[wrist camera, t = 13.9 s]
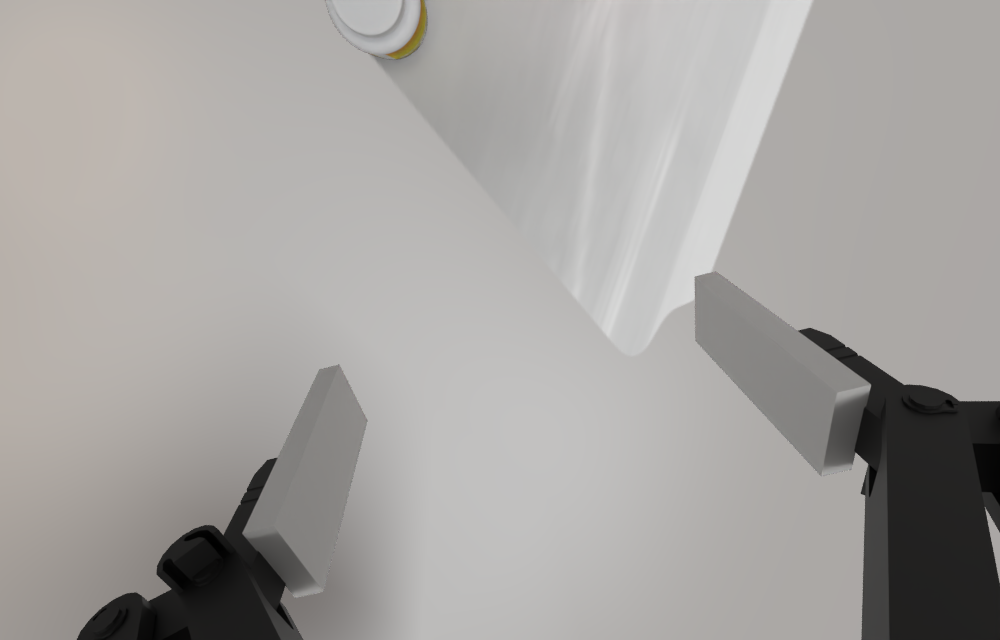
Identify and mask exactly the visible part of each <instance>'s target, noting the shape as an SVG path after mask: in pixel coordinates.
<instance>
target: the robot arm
mask: <svg viewBox="0 0 1000 640" xmlns="http://www.w3.org/2000/svg"><path fill="white" fill-rule="evenodd" d="M695 338H696V342H697V343H698V344H699V345H700V346H701V347H702V348H703V349H704V350H705V351H706V353H708V355H709V356H710V357H711V358H712V359H713V360H714V361H715V362H716V363H717V364H718V366H719V367H720V368H722V370H723V371H724V372H725V373H726V374H727V375H728V376H729V377H730V378H731V380H732V381H733V382H734V383H735V384H736V385H737V386H738V387H739V388H740V389H741V390H742V391H743V393H745V395H746V396H747V397H748V398H749V399H750V400H751V401H752V402H753V403H754V404H755V405H756V407H757V408H758V409H759V410H760V411H761V412H762V413H763V414H764V415H765V416H766V417H767V418H768V419H769V421H770V422H771V423H772V424H773V425H774V426H775V427H776V428H777V429H778V430H779V431H780V432H781V434H782V435H783V436H784V437H785V438H786V439H787V440H788V441H789V442H790V443H791V444H792V445H793V446H794V447H795V449H796V450H797V451H798V452H799V453H800V454H801V455H802V456H803V457H804V458H805V459H806V460H807V462H808V463H809V464H810V465H811V466H812V467H813V468H814V469H815V470H816V471H817V472H818V473H819V475H820V476H825V475H830V474H834V473H838V472H843V471H847V470H851V469H852V465H853V461H854V456H855V452H856V453H857V454H858V455H859V456H860V457H861V458H862V459H864V460H865V461H866V462H867V463H868V468H867V472H866V475H865V480H864V483H863V487H862V491H861V494H863V495H865V532H864V571H863V605H862V607H863V608H862V640H1000V583H999V578H998V573H997V568H996V563H995V557H994V552H993V547H992V542H991V537H990V532H989V527H988V521H987V516H986V511H985V507H986V509H987V511H988V513H989V514H990V516H991V518H992V520H993V521H994V523H995V525H996V527H997V528H998V530H999V532H1000V401H981V402H980V401H971V402H970V401H969V402H967V401H966V402H965V401H958V400H957V399H956V398H954V397H953V396H952V395H950V394H947V393H945V392H943V391H940V390H938V389H934V388H930V387H926V386H921V385H903V384H902V383H900V382H899V381H897V380H896V379H894V378H893V377H891V376H890V375H888V374H887V373H885V372H884V371H883V370H881V369H880V368H878V367H877V366H875V365H874V364H872V363H871V362H869V361H868V360H866V359H865V358H863V357H862V356H858V355H857V353H856V352H855V351H853V350H852V349H850V348H849V347H845V345H844V344H843V343H841V342H840V341H838V340H837V339H835V338H834V337H832V336H831V335H829V334H826V333H823V332H820V331H817V330H814V329H812V328H807V329H803V330H800V331H797V330H796V329H794V328H793V327H792V326H790V325H789V324H787V323H786V322H785V321H783V320H782V319H781V318H779V317H778V316H776V315H775V314H774V313H772V312H771V311H769V310H768V309H767V308H765V307H764V306H763V305H761V304H760V303H759V302H757V301H756V300H755V299H753V298H752V297H750V296H749V295H748V294H746V293H745V292H744V291H742V290H741V289H739V288H738V287H737V286H735V285H734V284H733V283H731V282H730V281H728V280H727V279H726V278H724V277H723V276H722V275H720V274H719V273H717V272H712V273H708V274H704V275H700V276H695ZM366 424H367V418H366V417H365V415H364V413H363V411H362V409H361V407H360V405H359V403H358V401H357V399H356V397H355V395H354V393H353V391H352V389H351V387H350V385H349V383H348V381H347V379H346V377H345V375H344V373H343V371H342V369H341V367H340V365H336V366H332V367H328V368H324V369H320V370H319V371H318V374H317V375H316V378H315V380H314V382H313V384H312V386H311V388H310V390H309V392H308V395H307V397H306V399H305V401H304V403H303V406H302V407H301V409H300V412H299V414H298V416H297V418H296V420H295V422H294V425H293V427H292V429H291V431H290V433H289V435H288V437H287V439H286V442H285V444H284V446H283V448H282V450H281V452H280V454H279V456H278V458H274V459H270V460H267V461H266V462H265V464H264V465H263V466H262V467H261V468H260V469H259V470H258V471H257V472H256V474H255V475H254V477H253V478H252V480H251V482H250V484H249V486H248V488H247V492H246V493H245V494H244V496H243V498H242V500H241V505H239V506H238V508H237V510H236V512H235V514H234V516H233V518H232V520H231V522H230V524H229V526H228V527H227V529H226V531H225V533H224V535H222V533H221V532H220V531H219V530H218V529H217V528H216V527H214V526H211V525H204V526H201V527H199V528H195V529H193V530H191V531H190V532H188V533H186V534H185V535H183V536H182V537H180V538H179V539H178V540H177V541H176V542H174V543H173V544H172V545H171V546H170V547H169V549H168V550H167V551H166V552H165V553H164V554H163V556H162V558H161V560H160V561H159V563H158V565H157V575H158V576H159V577H160V578H161V579H162V580H163V581H164V582H165V583H166V584H167V585H168V586H169V587H170V588H171V590H170V591H168V592H166V593H164V594H162V595H160V596H158V597H156V598H154V599H152V600H150V601H147V600H145V598H143V597H142V596H141V595H139V594H138V593H127V594H125V595H122V596H120V597H118V598H116V599H114V600H113V601H111V602H110V603H108V604H107V605H105V606H104V607H102V609H100V610H99V611H98V612H97V613H96V614H95V615H94V616H93V617H92V618H91V619H90V620H89V621H88V623H87V624H86V625H85V627H84V628H83V629H82V630H81V632H80V634H79V636H78V638H77V640H303V638H302V637H301V635H300V633H299V631H298V629H297V627H296V626H295V624H294V622H293V620H292V618H291V617H290V615H289V613H288V611H287V609H286V607H285V606H284V605H283V604H282V603H281V602H280V600H281V597H282V594H283V591H284V588H285V586H286V587H287V588H288V589H289V591H290V592H291V593H292V594H293V595H294V597H295V598H298V597H302V596H306V595H311V594H315V593H319V592H323V591H324V588H325V584H326V580H327V576H328V572H329V568H330V564H331V560H332V556H333V553H334V549H335V545H336V541H337V537H338V533H339V529H340V525H341V522H342V518H343V513H344V510H345V506H346V502H347V498H348V494H349V490H350V486H351V483H352V479H353V474H354V471H355V467H356V463H357V459H358V455H359V452H360V447H361V443H362V440H363V436H364V432H365V428H366Z"/></svg>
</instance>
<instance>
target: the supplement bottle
mask: <svg viewBox="0 0 1000 640" xmlns="http://www.w3.org/2000/svg"><path fill="white" fill-rule="evenodd" d="M325 1H326V6H327V9H328V12H329V15H330V17H331V19H332V21H333V23H334V25H335V27H336V28H337V30H338V31H339V33H340V34H341V35H342V36H343V37H344V38H345V39H346V40H347V41H348V42H349V43H351V44H352V45H353V46H354V47H356V48H358V49H359V50H362V51H364V52H366V53H369V54H372V55H375V56H378V57H381V58H385V59H401V58H405V57H407V56H409V55H410V54H412V53H413V52H414V51H416V50H417V48H418V47H419V46H420V44H421V43H422V41H423V39H424V36H425V33H426V29H427V10H426V6H425V2H424V0H325Z"/></svg>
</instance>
